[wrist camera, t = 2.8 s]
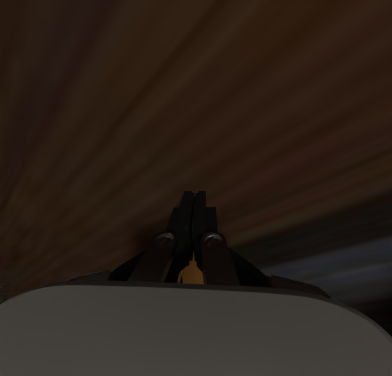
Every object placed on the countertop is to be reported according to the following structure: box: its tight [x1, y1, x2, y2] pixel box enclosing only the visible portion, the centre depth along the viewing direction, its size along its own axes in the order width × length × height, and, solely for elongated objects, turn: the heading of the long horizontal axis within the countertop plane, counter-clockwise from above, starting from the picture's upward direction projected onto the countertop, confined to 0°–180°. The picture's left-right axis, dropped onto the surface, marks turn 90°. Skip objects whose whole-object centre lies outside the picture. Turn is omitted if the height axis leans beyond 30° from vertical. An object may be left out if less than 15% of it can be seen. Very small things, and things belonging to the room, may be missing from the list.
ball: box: [182, 251, 204, 284], centre depth 16 cm, size 6×6×6 cm
